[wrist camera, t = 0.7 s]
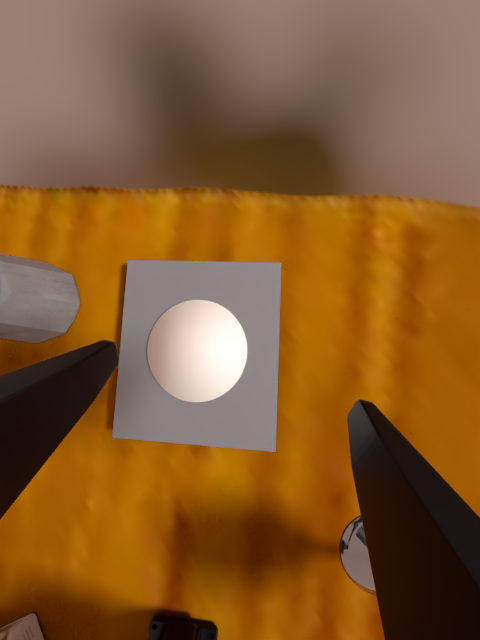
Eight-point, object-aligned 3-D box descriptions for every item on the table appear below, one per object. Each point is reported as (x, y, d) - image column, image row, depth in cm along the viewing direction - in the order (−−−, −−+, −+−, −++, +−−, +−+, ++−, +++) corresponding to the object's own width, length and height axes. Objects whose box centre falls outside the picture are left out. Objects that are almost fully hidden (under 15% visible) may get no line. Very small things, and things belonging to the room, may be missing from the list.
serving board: (274, 443, 22) (275, 452, 20) (121, 430, 23) (110, 438, 21) (279, 267, 23) (281, 262, 21) (135, 265, 24) (126, 259, 23)
